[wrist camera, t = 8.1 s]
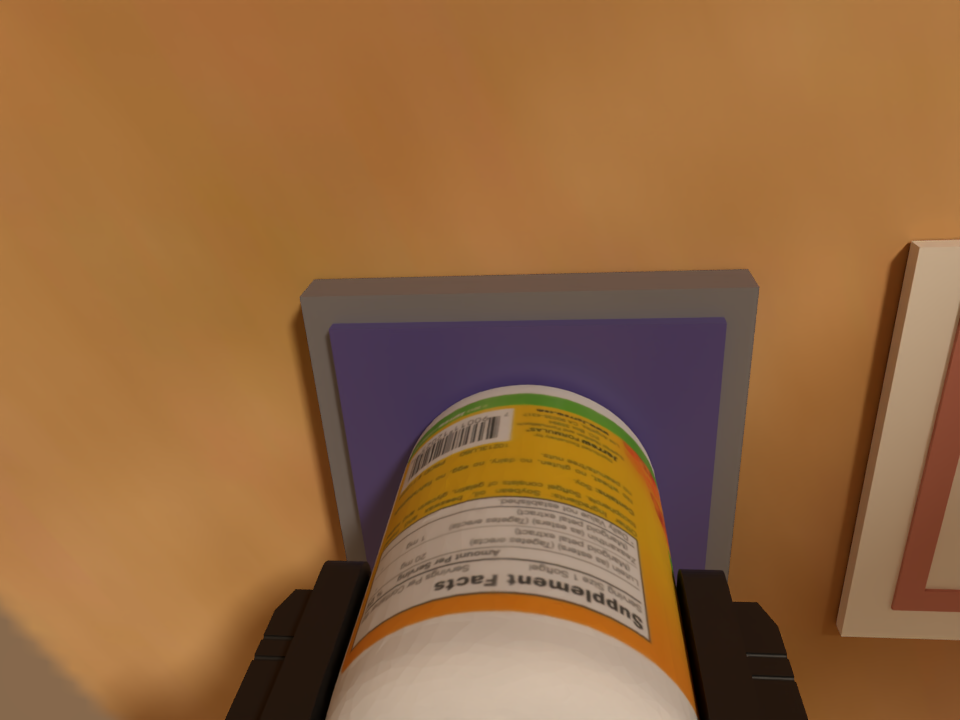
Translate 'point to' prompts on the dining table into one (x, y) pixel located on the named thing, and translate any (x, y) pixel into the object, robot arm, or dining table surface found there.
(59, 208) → the dining table surface
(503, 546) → the supplement bottle
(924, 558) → the marked card
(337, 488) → the ink pad
